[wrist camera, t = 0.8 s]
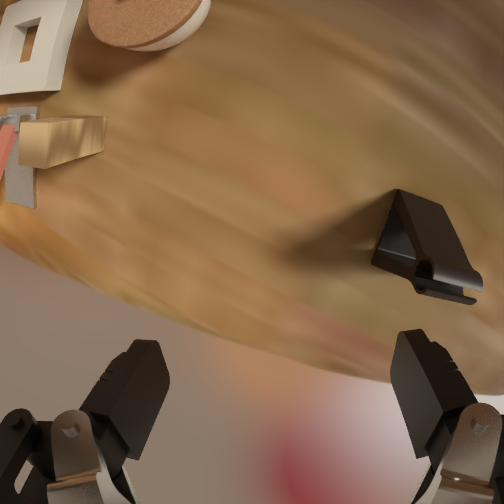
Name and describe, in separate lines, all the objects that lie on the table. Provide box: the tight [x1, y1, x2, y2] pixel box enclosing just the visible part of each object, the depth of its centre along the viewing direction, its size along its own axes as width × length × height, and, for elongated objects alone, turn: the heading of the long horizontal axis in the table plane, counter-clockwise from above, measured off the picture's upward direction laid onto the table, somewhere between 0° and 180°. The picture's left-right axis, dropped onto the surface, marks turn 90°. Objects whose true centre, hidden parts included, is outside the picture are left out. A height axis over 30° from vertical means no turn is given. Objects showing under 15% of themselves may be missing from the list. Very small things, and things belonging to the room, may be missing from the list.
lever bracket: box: [0, 106, 40, 209], centre depth 28 cm, size 14×7×3 cm, turn 167°
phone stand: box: [371, 189, 483, 305], centre depth 24 cm, size 9×6×12 cm, turn 168°
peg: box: [18, 115, 108, 169], centre depth 23 cm, size 4×4×10 cm
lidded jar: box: [87, 0, 211, 51], centre depth 18 cm, size 11×11×9 cm
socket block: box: [0, 0, 83, 95], centre depth 21 cm, size 14×14×3 cm
